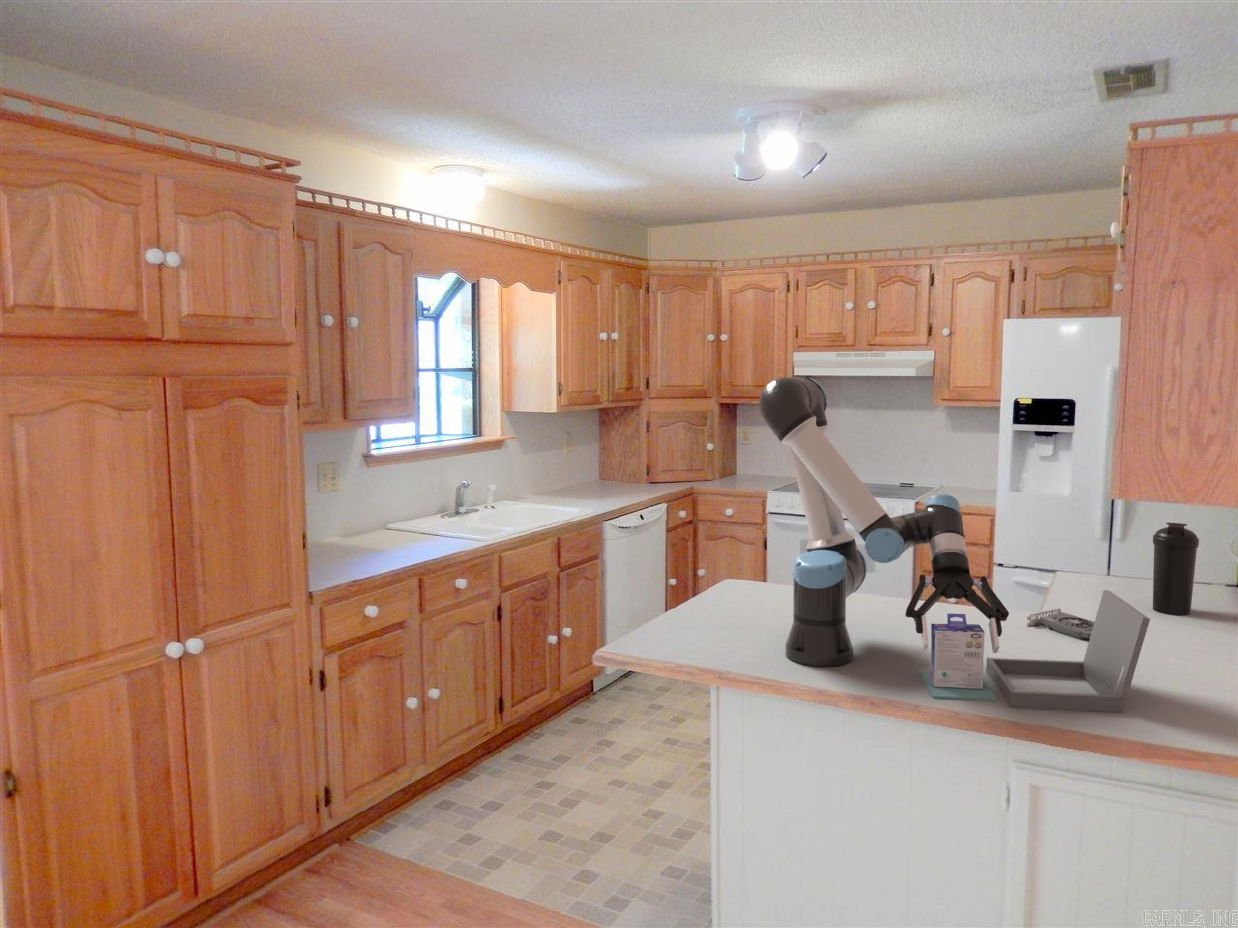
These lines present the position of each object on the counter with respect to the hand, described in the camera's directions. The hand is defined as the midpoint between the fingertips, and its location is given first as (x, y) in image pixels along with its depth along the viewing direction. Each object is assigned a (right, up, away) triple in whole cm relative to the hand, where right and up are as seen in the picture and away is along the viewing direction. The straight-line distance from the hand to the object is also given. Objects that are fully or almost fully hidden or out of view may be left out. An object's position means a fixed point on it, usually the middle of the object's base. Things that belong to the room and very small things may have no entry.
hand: (960, 648), depth 180 cm
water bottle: (+76, -1, +52) cm, 92 cm away
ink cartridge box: (0, -8, +3) cm, 9 cm away
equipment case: (+20, -8, 0) cm, 22 cm away
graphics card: (+41, -4, +37) cm, 56 cm away
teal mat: (0, -8, +3) cm, 9 cm away
